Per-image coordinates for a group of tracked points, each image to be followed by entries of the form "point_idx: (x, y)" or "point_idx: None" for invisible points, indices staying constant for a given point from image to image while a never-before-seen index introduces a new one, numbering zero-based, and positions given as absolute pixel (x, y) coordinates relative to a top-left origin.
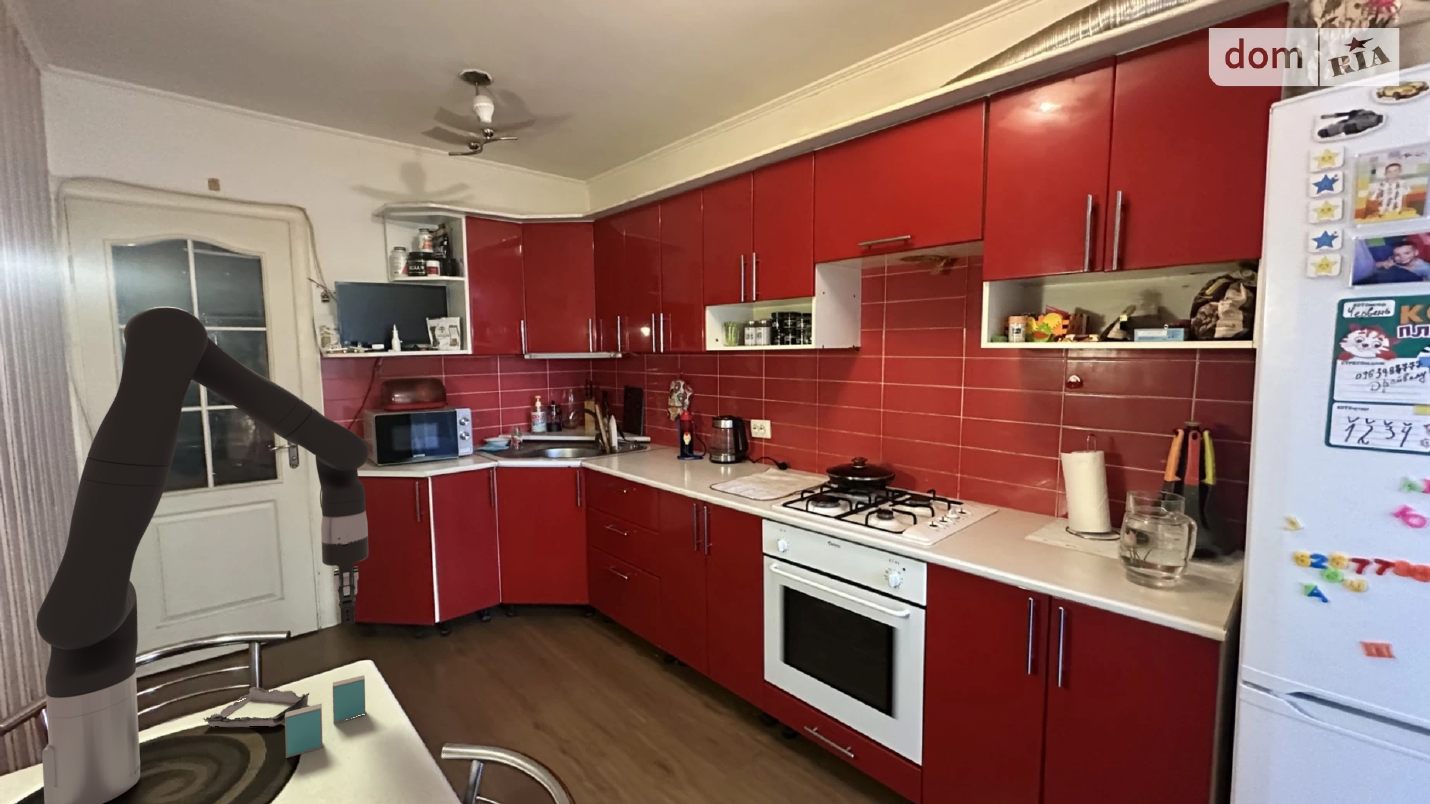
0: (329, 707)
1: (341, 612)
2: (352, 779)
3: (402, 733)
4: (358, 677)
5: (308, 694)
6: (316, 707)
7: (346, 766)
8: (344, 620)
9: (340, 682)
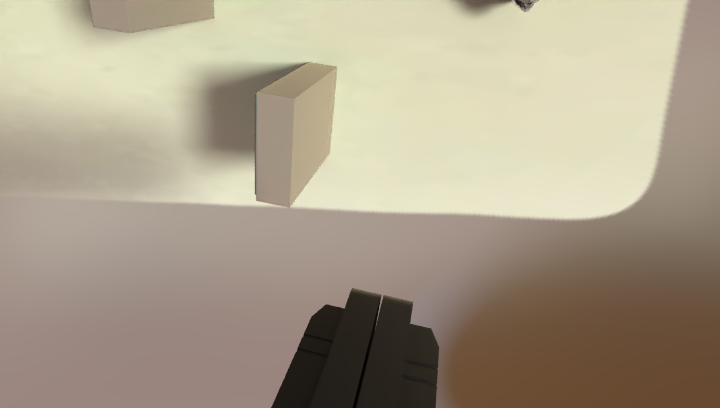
0: (432, 67)
1: (323, 376)
2: (15, 60)
3: (160, 195)
4: (282, 186)
5: (522, 7)
6: (103, 10)
7: (71, 57)
8: (306, 331)
9: (277, 124)
